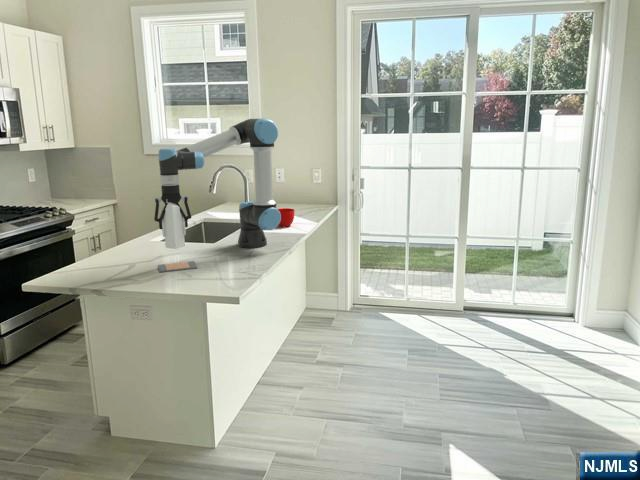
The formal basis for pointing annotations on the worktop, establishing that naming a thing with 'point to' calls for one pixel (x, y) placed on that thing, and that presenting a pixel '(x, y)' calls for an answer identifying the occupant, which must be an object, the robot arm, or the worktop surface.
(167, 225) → the milk
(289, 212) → the ceramic cup
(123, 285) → the worktop surface
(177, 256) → the worktop surface
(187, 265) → the board
